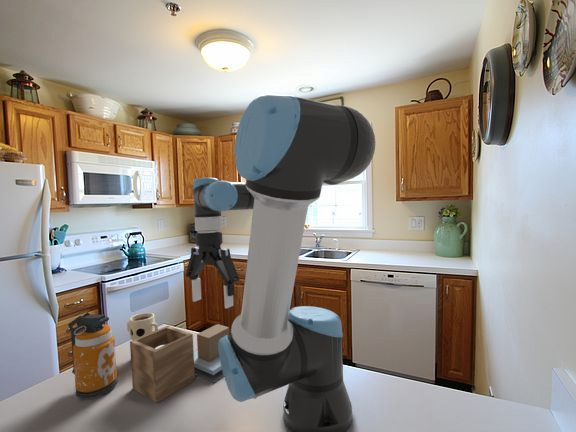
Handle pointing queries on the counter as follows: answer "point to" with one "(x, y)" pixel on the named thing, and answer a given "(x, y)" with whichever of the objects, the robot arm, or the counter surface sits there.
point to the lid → (209, 349)
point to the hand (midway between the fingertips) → (212, 303)
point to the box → (162, 362)
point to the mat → (209, 375)
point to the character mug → (141, 325)
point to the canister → (93, 356)
